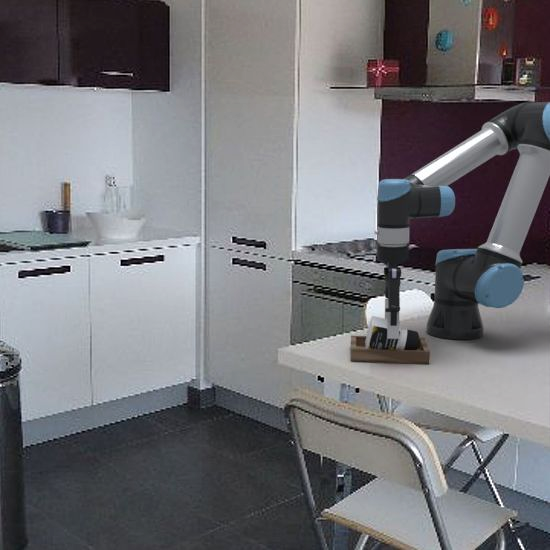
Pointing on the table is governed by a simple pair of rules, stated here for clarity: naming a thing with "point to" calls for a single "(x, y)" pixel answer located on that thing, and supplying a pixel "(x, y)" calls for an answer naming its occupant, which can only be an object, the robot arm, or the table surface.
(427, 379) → the table surface
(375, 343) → the medicine bottle
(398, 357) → the walnut tray
